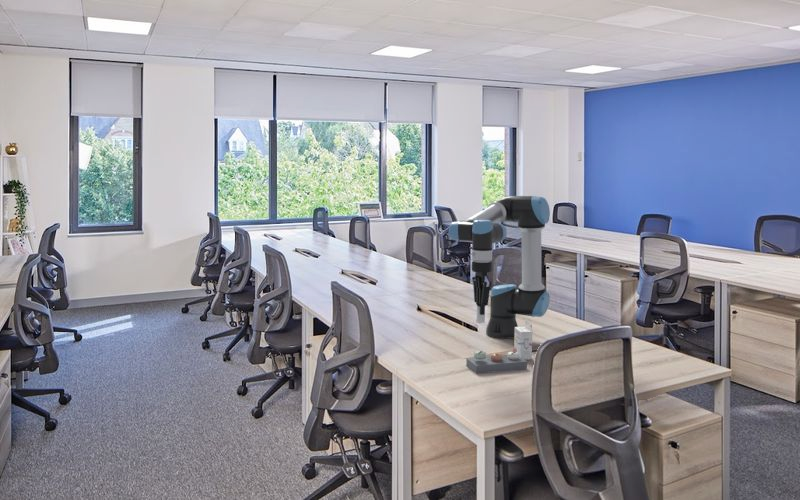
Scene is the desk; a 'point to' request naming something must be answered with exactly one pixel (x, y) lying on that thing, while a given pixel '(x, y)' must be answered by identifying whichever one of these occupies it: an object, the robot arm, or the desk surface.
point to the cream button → (513, 355)
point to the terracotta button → (496, 357)
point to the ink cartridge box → (523, 341)
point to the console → (495, 364)
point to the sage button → (479, 355)
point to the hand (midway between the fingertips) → (480, 322)
